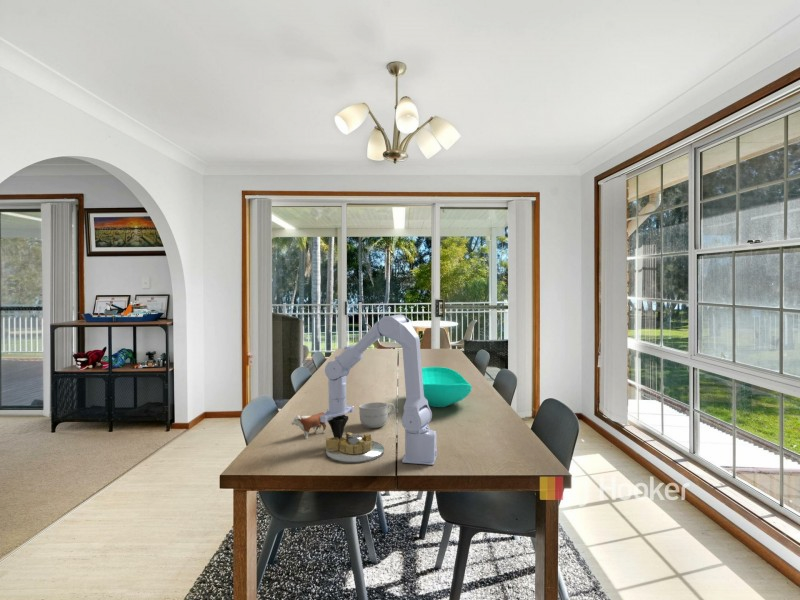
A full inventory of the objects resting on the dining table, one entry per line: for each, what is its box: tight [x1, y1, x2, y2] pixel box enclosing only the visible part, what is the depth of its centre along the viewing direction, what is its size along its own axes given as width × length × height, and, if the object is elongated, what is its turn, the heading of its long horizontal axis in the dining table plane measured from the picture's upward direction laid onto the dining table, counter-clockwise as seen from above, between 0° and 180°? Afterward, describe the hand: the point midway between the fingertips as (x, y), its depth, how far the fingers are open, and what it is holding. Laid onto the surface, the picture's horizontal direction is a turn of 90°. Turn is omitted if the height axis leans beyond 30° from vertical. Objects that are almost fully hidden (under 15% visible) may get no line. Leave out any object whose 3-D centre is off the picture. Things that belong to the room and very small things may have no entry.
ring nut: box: [325, 431, 373, 454], centre depth 145 cm, size 10×14×3 cm
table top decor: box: [422, 366, 473, 408], centre depth 200 cm, size 40×28×13 cm
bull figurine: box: [291, 412, 327, 440], centre depth 160 cm, size 4×13×8 cm, turn 135°
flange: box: [325, 434, 385, 464], centre depth 144 cm, size 18×18×5 cm
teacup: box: [358, 401, 396, 429], centre depth 171 cm, size 14×11×8 cm
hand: (337, 438), depth 150 cm, fingers closed
